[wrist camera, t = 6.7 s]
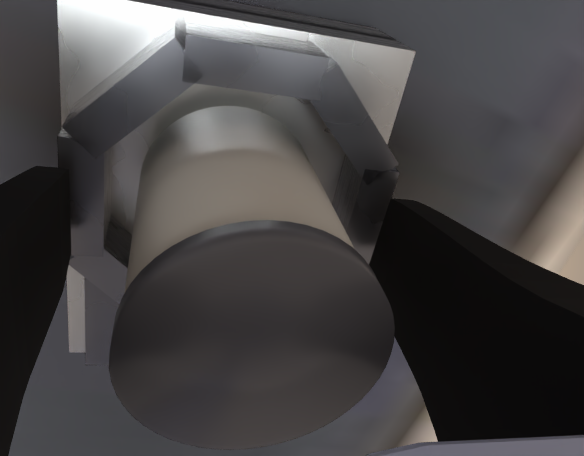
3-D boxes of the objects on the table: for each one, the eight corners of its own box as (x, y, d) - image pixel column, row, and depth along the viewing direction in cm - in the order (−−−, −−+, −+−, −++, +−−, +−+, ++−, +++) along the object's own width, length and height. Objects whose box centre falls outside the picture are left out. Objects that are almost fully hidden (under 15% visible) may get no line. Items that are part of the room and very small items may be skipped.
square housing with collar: (305, 297, 20) (335, 388, 16) (84, 289, 18) (59, 392, 14) (375, 27, 15) (442, 67, 11) (81, -27, 13) (39, -2, 9)
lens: (301, 259, 15) (363, 438, 10) (137, 260, 14) (116, 460, 9) (327, 108, 12) (427, 243, 8) (132, 94, 11) (99, 241, 6)
